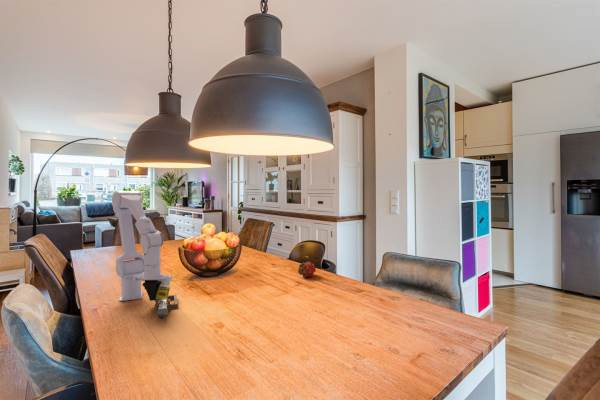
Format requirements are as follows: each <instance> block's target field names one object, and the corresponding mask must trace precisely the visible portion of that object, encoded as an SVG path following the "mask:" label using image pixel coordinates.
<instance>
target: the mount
mask: <svg viewBox="0 0 600 400" xmlns="http://www.w3.org/2000/svg"><path fill="white" fill-rule="evenodd" d="M172 300H173V303H171V301H172ZM154 303H155V309H154V310H155V314H156V315H157V313H158V311H159V303H158V301H156V302H154ZM178 304H179V303H178V295H177V294H170V295H169V294H168V299H167V310H168V313H170V312H171V310H174V309H178V308H179V305H178Z"/></svg>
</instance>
